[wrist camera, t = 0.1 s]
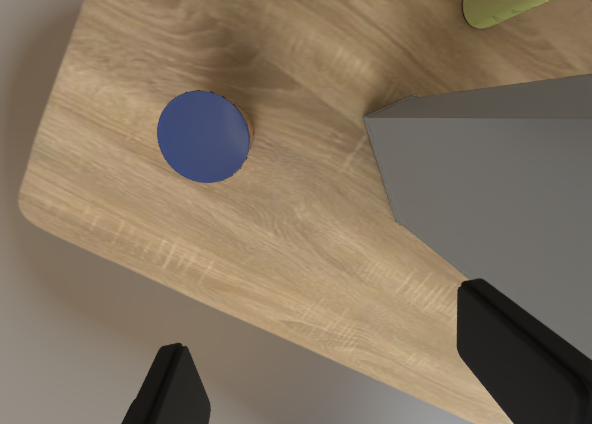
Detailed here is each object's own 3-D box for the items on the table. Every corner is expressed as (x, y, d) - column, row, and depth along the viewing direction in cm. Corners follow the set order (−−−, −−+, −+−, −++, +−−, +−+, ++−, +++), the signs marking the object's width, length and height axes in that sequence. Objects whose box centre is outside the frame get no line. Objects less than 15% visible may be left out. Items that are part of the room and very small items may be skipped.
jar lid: (152, 100, 21) (142, 99, 20) (240, 84, 22) (237, 82, 20) (179, 186, 24) (173, 191, 22) (258, 171, 24) (258, 175, 22)
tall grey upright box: (439, 202, 36) (777, 370, 12) (395, 221, 36) (639, 421, 12) (412, 94, 31) (873, 20, 7) (361, 116, 31) (650, 115, 8)
